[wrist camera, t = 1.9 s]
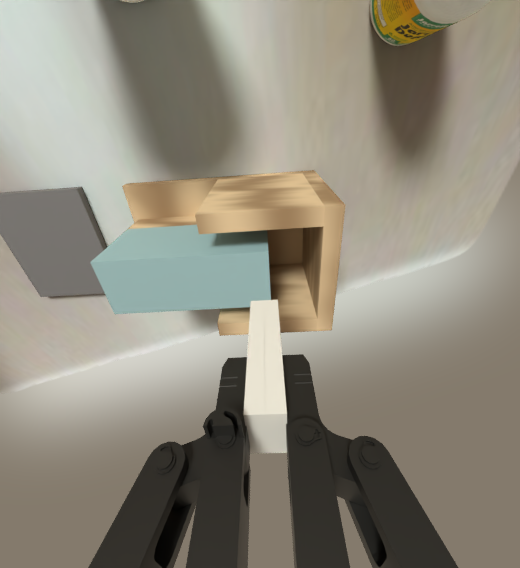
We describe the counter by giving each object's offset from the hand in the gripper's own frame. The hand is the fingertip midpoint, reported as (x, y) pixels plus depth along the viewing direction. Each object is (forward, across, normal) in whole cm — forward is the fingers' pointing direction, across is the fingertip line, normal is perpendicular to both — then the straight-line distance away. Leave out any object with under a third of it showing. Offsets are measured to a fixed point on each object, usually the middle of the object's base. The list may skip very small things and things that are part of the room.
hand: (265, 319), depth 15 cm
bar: (+10, -6, 0) cm, 12 cm away
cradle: (+15, -4, 0) cm, 16 cm away
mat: (+15, -22, -1) cm, 27 cm away
